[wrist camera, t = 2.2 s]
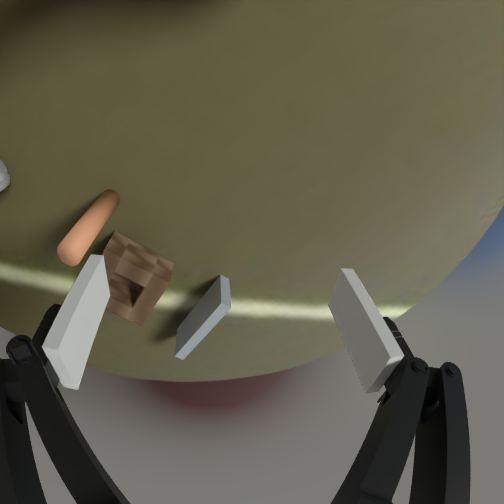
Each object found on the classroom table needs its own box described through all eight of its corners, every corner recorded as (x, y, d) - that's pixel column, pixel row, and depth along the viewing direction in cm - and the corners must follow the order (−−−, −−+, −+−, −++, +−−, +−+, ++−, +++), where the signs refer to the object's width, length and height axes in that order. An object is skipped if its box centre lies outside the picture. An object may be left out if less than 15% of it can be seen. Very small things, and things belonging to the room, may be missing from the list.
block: (93, 277, 43) (84, 296, 39) (115, 230, 39) (104, 248, 35) (146, 304, 47) (141, 325, 43) (173, 263, 43) (169, 283, 39)
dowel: (98, 202, 37) (54, 257, 25) (105, 186, 36) (60, 236, 24) (114, 211, 38) (76, 270, 26) (122, 195, 37) (84, 250, 25)
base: (177, 327, 50) (174, 356, 45) (220, 274, 45) (221, 303, 40) (185, 331, 51) (183, 359, 45) (229, 279, 46) (231, 307, 40)
